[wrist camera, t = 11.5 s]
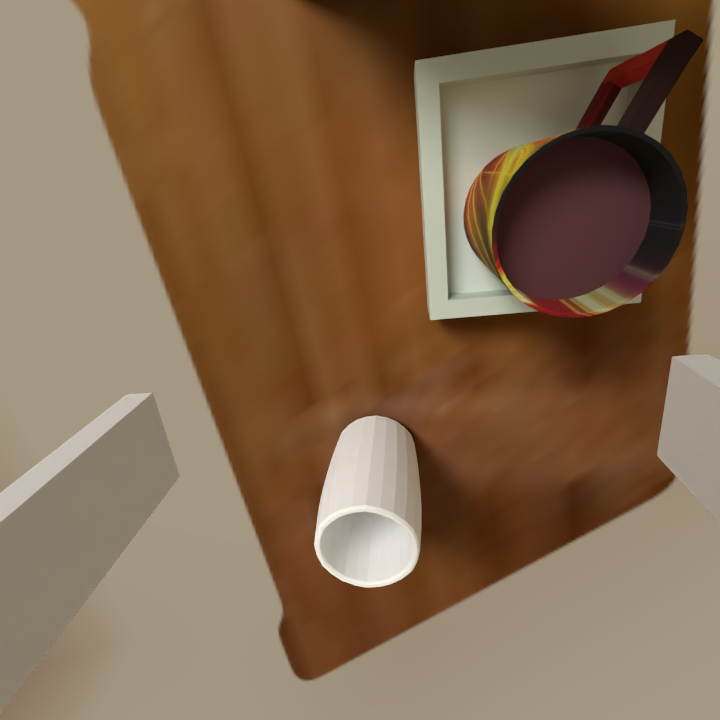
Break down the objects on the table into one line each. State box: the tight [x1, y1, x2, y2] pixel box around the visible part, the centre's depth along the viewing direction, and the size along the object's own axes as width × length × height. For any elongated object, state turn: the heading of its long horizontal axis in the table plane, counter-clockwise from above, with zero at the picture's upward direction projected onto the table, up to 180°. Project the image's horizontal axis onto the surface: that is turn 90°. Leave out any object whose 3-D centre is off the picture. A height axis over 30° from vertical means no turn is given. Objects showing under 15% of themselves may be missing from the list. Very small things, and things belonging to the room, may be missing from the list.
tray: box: [414, 19, 676, 320], centre depth 33 cm, size 18×16×4 cm
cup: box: [314, 416, 422, 587], centre depth 39 cm, size 8×8×14 cm
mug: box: [463, 30, 703, 318], centre depth 28 cm, size 10×14×12 cm
